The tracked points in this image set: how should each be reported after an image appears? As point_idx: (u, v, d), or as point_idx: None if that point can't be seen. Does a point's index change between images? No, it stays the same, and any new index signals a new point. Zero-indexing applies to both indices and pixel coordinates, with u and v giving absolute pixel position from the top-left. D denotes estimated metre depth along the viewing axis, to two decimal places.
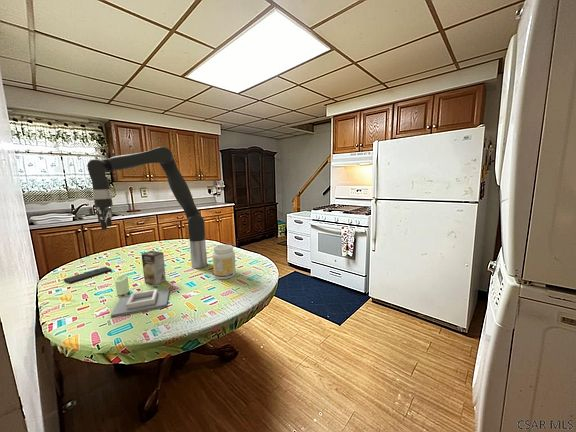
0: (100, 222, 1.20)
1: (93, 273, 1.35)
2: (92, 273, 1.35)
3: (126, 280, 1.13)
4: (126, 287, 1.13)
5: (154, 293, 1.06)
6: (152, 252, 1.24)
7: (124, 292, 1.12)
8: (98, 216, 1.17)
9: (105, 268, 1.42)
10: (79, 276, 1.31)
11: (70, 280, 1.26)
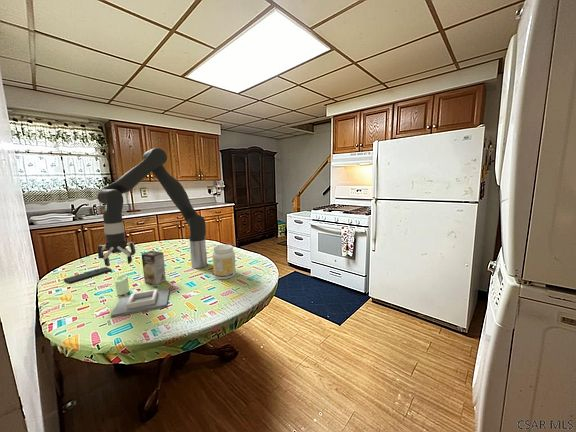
0: (129, 256, 1.12)
1: (93, 273, 1.35)
2: (92, 273, 1.35)
3: (126, 280, 1.13)
4: (126, 287, 1.13)
5: (154, 293, 1.06)
6: (152, 252, 1.24)
7: (124, 292, 1.12)
8: (133, 248, 1.12)
9: (105, 268, 1.42)
10: (79, 276, 1.31)
11: (70, 280, 1.26)
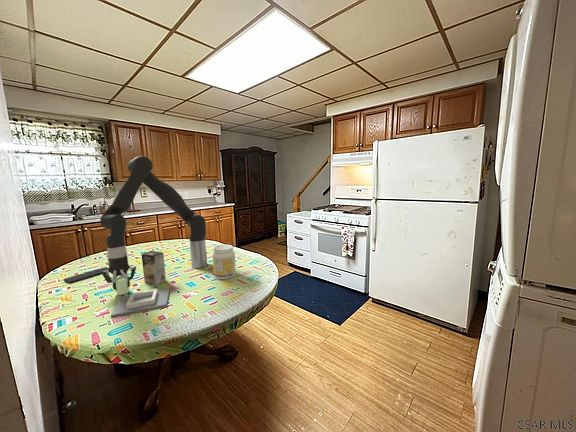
0: (127, 281, 1.13)
1: (93, 273, 1.35)
2: (92, 273, 1.35)
3: None
4: (126, 287, 1.13)
5: (154, 293, 1.06)
6: (152, 252, 1.24)
7: (124, 292, 1.12)
8: None
9: (105, 268, 1.42)
10: (79, 276, 1.31)
11: (70, 280, 1.26)
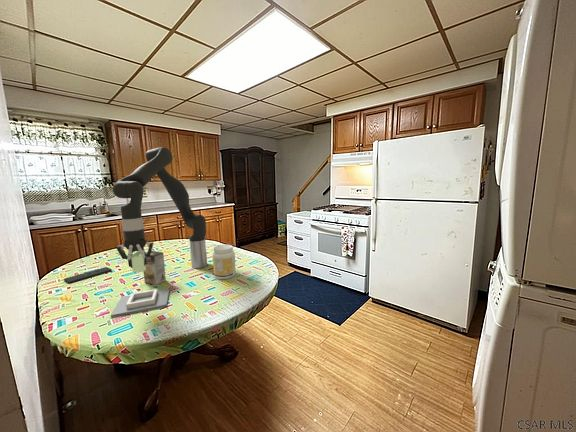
0: (144, 257, 1.01)
1: (93, 273, 1.35)
2: (92, 273, 1.35)
3: None
4: (143, 264, 1.01)
5: (154, 293, 1.06)
6: (152, 252, 1.24)
7: (141, 270, 1.00)
8: (151, 250, 1.02)
9: (105, 268, 1.42)
10: (79, 276, 1.31)
11: (69, 280, 1.26)
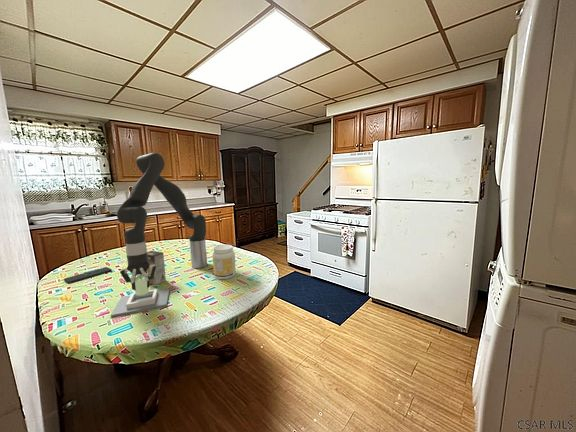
0: (147, 280, 1.03)
1: (93, 273, 1.34)
2: (92, 273, 1.35)
3: None
4: (146, 287, 1.03)
5: (154, 293, 1.06)
6: (152, 252, 1.24)
7: (144, 292, 1.02)
8: (154, 272, 1.03)
9: (106, 268, 1.42)
10: (79, 276, 1.31)
11: (69, 280, 1.26)
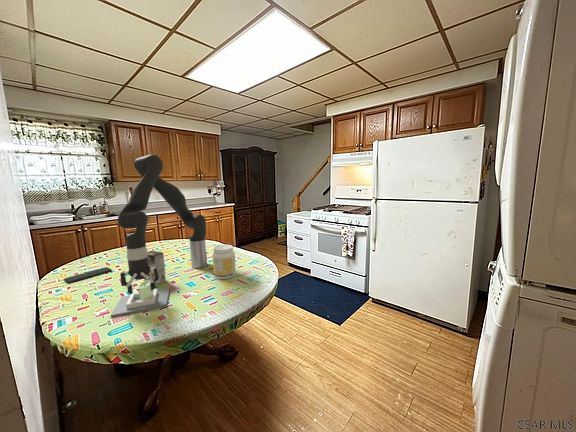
0: (153, 282, 1.04)
1: (93, 273, 1.34)
2: (92, 273, 1.35)
3: (150, 286, 1.03)
4: (150, 294, 1.03)
5: (154, 293, 1.06)
6: (152, 252, 1.24)
7: None
8: (157, 274, 1.04)
9: (106, 268, 1.42)
10: (79, 276, 1.31)
11: (69, 280, 1.26)
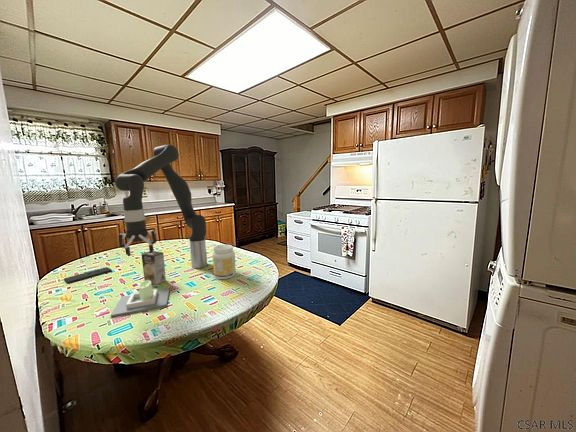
0: (151, 244, 1.07)
1: (93, 273, 1.34)
2: (92, 273, 1.34)
3: (150, 286, 1.03)
4: (150, 294, 1.03)
5: (154, 293, 1.06)
6: (152, 252, 1.24)
7: None
8: (155, 237, 1.07)
9: (106, 268, 1.42)
10: (79, 276, 1.31)
11: (69, 280, 1.26)
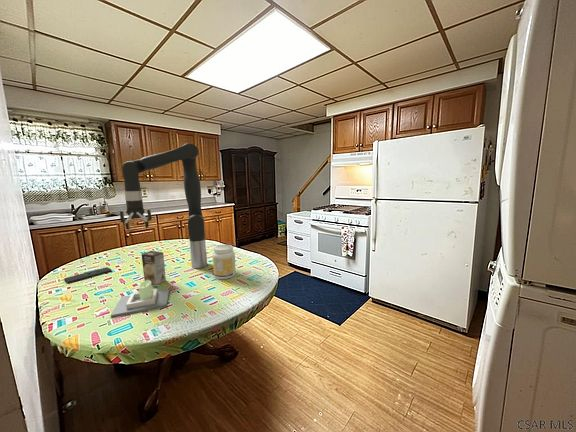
0: (147, 221, 1.27)
1: (93, 273, 1.34)
2: (92, 273, 1.34)
3: (150, 286, 1.03)
4: (150, 294, 1.03)
5: (154, 293, 1.06)
6: (152, 252, 1.24)
7: None
8: (150, 215, 1.27)
9: (106, 268, 1.42)
10: (79, 276, 1.31)
11: (69, 280, 1.26)
